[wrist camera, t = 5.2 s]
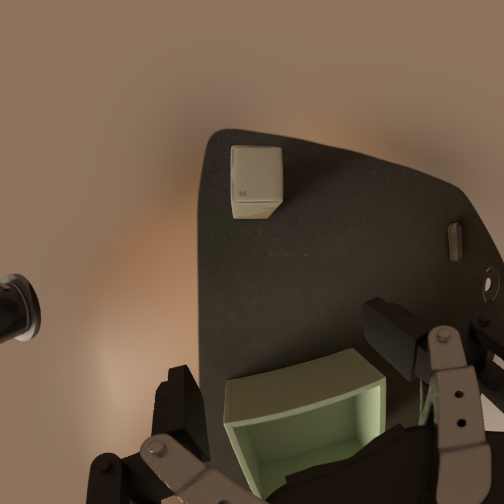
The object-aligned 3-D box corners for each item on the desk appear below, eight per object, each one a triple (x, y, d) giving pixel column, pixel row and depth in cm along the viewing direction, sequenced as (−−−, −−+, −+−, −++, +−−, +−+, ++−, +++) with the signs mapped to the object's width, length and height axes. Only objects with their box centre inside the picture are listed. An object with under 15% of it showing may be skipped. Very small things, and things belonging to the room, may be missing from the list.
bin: (254, 463, 34) (259, 505, 24) (226, 380, 33) (223, 423, 23) (358, 434, 35) (381, 469, 25) (352, 347, 34) (386, 377, 24)
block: (446, 261, 34) (453, 262, 33) (445, 223, 34) (452, 222, 32) (460, 259, 35) (467, 260, 33) (458, 223, 34) (465, 222, 33)
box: (268, 219, 33) (284, 206, 22) (232, 218, 32) (229, 206, 21) (268, 176, 32) (282, 145, 21) (232, 176, 32) (230, 144, 21)
